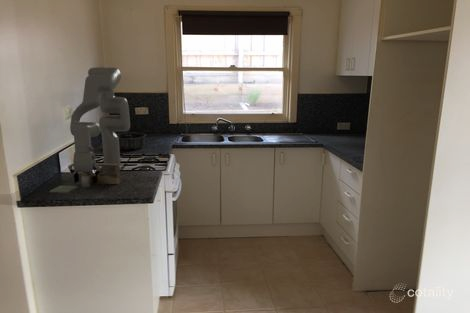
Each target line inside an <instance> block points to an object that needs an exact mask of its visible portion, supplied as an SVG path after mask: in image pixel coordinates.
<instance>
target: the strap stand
mask: <svg viewBox="0 0 470 313" xmlns="http://www.w3.org/2000/svg"><path fill="white" fill-rule="evenodd" d="M96 164H97V165H99V166H101V167H102V169H101V171H100V173H102V172H104V171H106V170H108V169H110V168H115V170H114V171H113V172H111V173H109V174H107V175H106V176H100V173H99V174H98V175H97V179H98V181H97V183H96V184H104V185H119V184H120V183H121V177H120V176H121V175H120V168H119V164H105V163H104V162H100V163H98V162H96ZM97 170H98V169H96V171H97ZM92 176H93V174H92V173H91V172H90V183H91V184H93V178H92Z"/></svg>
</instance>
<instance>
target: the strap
mask: <svg viewBox="0 0 470 313" xmlns="http://www.w3.org/2000/svg"><path fill="white" fill-rule="evenodd" d="M114 170H115V168H110V169H108V170H106V171H104V172H102V173H100V176H106V175H107V174H109V173H111V172H113V171H114Z"/></svg>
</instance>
